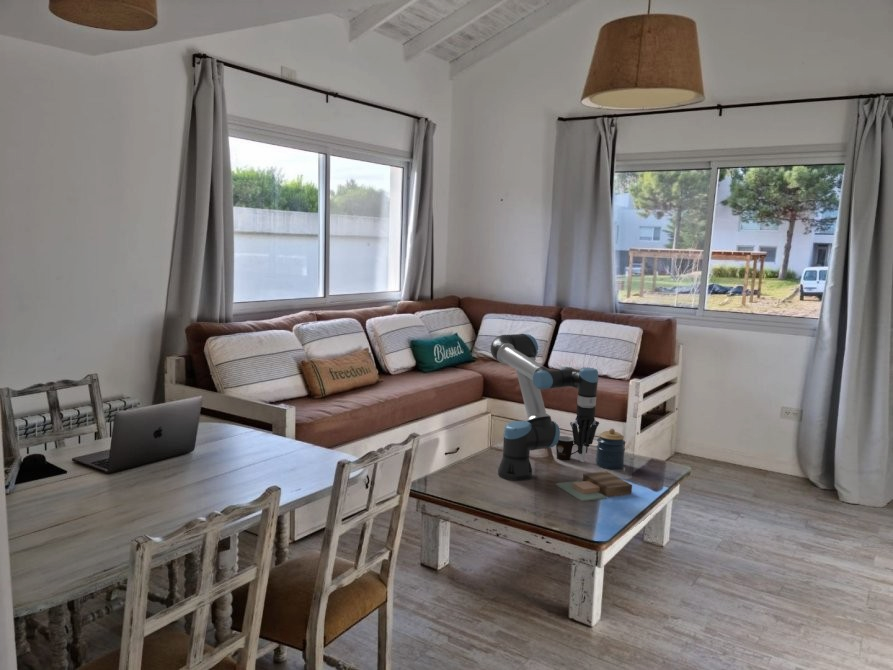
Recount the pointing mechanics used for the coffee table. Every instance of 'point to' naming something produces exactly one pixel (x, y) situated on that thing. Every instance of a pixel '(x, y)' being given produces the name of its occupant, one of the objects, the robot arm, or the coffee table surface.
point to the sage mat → (580, 496)
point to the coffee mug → (564, 448)
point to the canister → (610, 450)
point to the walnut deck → (608, 483)
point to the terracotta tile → (586, 487)
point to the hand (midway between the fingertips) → (581, 460)
